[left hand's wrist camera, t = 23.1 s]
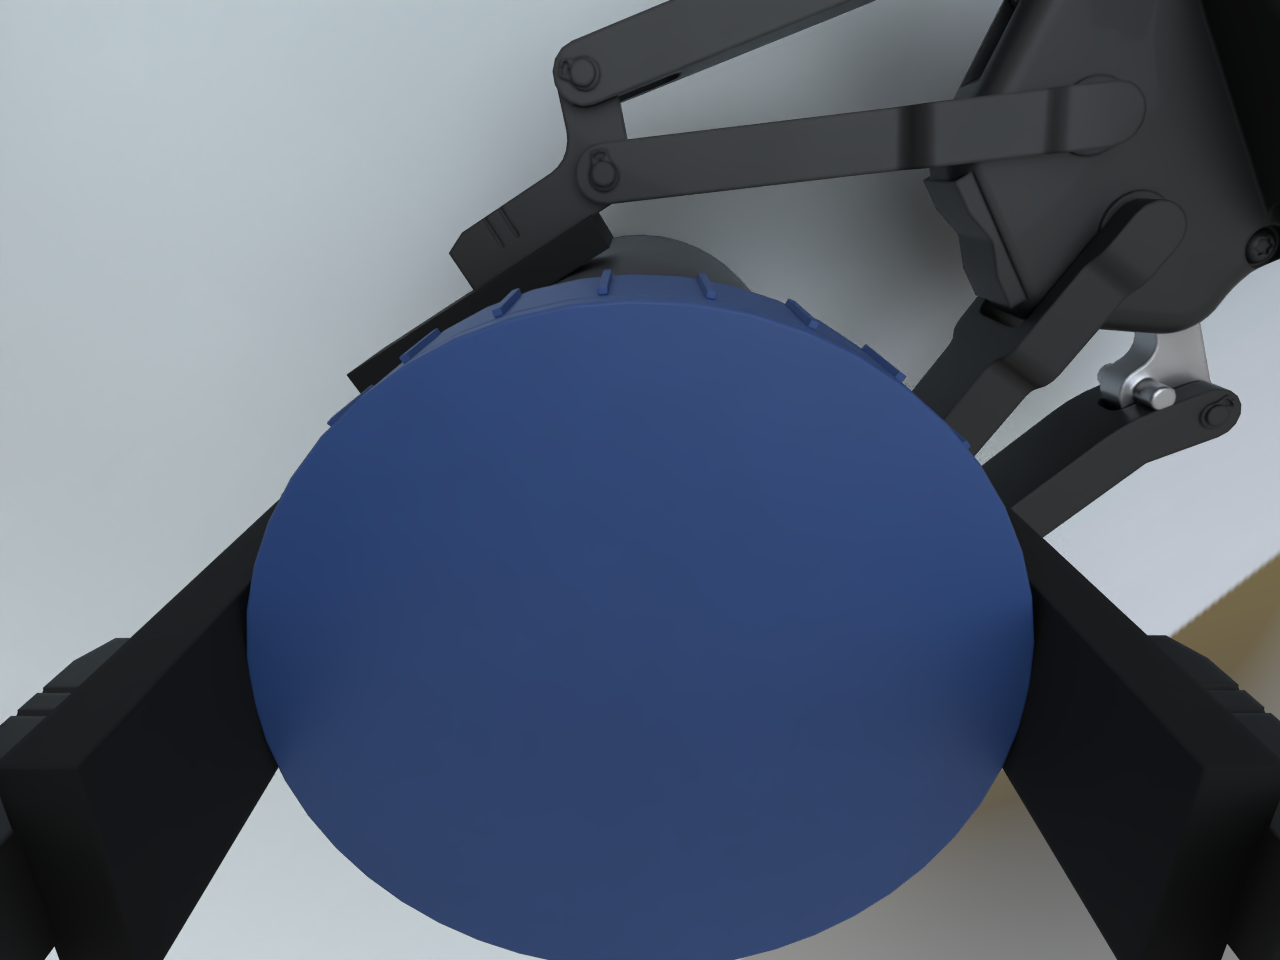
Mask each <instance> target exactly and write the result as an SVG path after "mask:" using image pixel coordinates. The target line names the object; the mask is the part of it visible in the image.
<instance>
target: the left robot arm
mask: <svg viewBox="0 0 1280 960" xmlns="http://www.w3.org/2000/svg"><path fill="white" fill-rule="evenodd" d="M279 500H280V499H279ZM279 500H278V501H277V502H276V503H275V504H274V505H273V506H272V507H271V508H270V509H268V510H267V511H266V512H265V513H264V514H263V515H262V516H261V517H260V518H259V519H258V520H257V521H256V522H254V523H253V524H252V525H251V526H250V527H249V528H248V529H247V530H246V531H245V532H244V533H243V534H242V535H241V536H239V537H238V538H237V539H236V540H235V541H234V542H233V543H232V544H231V545H230V546H229V547H228V548H227V549H225V550H224V551H223V552H222V553H221V554H220V555H219V556H218V557H217V558H216V559H215V560H214V561H213V562H212V563H210V564H209V565H208V566H207V567H206V568H205V569H204V570H203V571H202V572H201V573H200V574H199V575H198V576H196V577H195V578H194V579H193V580H192V581H191V582H190V583H189V584H188V585H187V586H186V587H185V588H184V589H183V590H181V591H180V592H179V593H178V594H177V595H176V596H175V597H174V598H173V599H172V600H171V601H170V602H169V603H167V604H166V605H165V606H164V607H163V608H162V609H161V610H160V611H159V612H158V613H157V614H156V615H155V616H154V617H152V618H151V619H150V620H149V621H148V622H147V623H146V624H145V625H144V626H143V627H142V628H141V629H140V630H138V631H137V632H136V633H135V634H134V635H133V636H132V637H131V638H115V639H113V640H111V641H109V642H108V643H106V644H104V645H102V646H100V647H98V648H96V649H95V650H93V651H91V652H89V653H87V654H85V655H84V656H82V657H80V658H78V659H76V660H74V661H73V662H72V663H71V664H70V665H68V666H67V667H66V668H65V669H64V670H63V671H62V672H60V673H59V674H58V675H57V676H56V677H55V678H54V679H53V680H51V681H50V682H49V683H48V684H47V685H46V686H45V687H43V692H42V693H37V694H35V695H34V696H33V697H32V698H31V699H30V700H29V701H27V702H26V703H25V704H24V705H23V706H22V707H21V708H20V709H18V713H17V716H10V717H9V718H8V719H7V720H6V721H5V722H4V723H2V724H1V725H0V960H45V958H46V957H47V956H48V954H49V953H50V952H51V950H52V949H53V948H54V946H55V949H56V952H57V954H58V957H59V960H163V959H164V958H165V956H166V954H167V953H168V951H169V949H170V948H171V946H172V944H173V943H174V941H175V939H176V938H177V936H178V934H179V933H180V931H181V929H182V928H183V926H184V924H185V923H186V921H187V919H188V918H189V916H190V914H191V913H192V911H193V909H194V908H195V906H196V904H197V903H198V901H199V899H200V898H201V896H202V894H203V893H204V891H205V889H206V888H207V886H208V884H209V883H210V881H211V879H212V878H213V876H214V874H215V873H216V871H217V869H218V867H219V866H220V864H221V862H222V861H223V859H224V857H225V856H226V854H227V852H228V851H229V849H230V847H231V846H232V844H233V842H234V841H235V839H236V837H237V836H238V834H239V832H240V831H241V829H242V827H243V826H244V824H245V822H246V821H247V819H248V817H249V816H250V814H251V812H252V811H253V809H254V807H255V806H256V804H257V802H258V801H259V799H260V797H261V796H262V794H263V792H264V791H265V789H266V787H267V786H268V784H269V782H270V781H271V779H272V777H273V776H274V774H275V772H276V771H277V769H278V765H277V763H276V761H275V759H274V756H273V754H272V752H271V750H270V748H269V746H268V744H267V742H266V739H265V736H264V733H263V729H262V726H261V723H260V720H259V717H258V713H257V709H256V704H255V700H254V695H253V690H252V685H251V680H250V674H249V669H248V663H247V606H248V600H249V593H250V587H251V581H252V574H253V568H254V564H255V561H256V558H257V555H258V552H259V549H260V546H261V543H262V540H263V537H264V534H265V531H266V527H267V524H268V521H269V519H270V518H271V516H272V514H273V512H274V510H275V508H276V506H277V504H278V502H279ZM1001 501H1002V500H1001ZM1002 502H1003V504H1004V506H1005V508H1006V511H1007V513H1008V516H1009V518H1010V521H1011V523H1012V526H1013V529H1014V531H1015V534H1016V536H1017V539H1018V541H1019V544H1020V547H1021V549H1022V552H1023V557H1024V562H1025V566H1026V571H1027V576H1028V580H1029V585H1030V590H1031V594H1032V607H1033V626H1034V651H1033V661H1032V670H1031V678H1030V684H1029V689H1028V693H1027V698H1026V702H1025V707H1024V711H1023V714H1022V718H1021V722H1020V726H1019V729H1018V731H1017V734H1016V736H1015V739H1014V741H1013V743H1012V746H1011V748H1010V750H1009V753H1008V755H1007V757H1006V760H1005V762H1004V765H1003V767H1002V768H1003V770H1004V771H1005V773H1006V775H1007V776H1008V778H1009V780H1010V781H1011V783H1012V785H1013V786H1014V788H1015V790H1016V791H1017V793H1018V795H1019V796H1020V798H1021V800H1022V801H1023V803H1024V805H1025V806H1026V808H1027V810H1028V811H1029V813H1030V815H1031V817H1032V818H1033V820H1034V821H1035V823H1036V825H1037V827H1038V828H1039V830H1040V832H1041V833H1042V835H1043V837H1044V838H1045V840H1046V842H1047V843H1048V845H1049V847H1050V848H1051V850H1052V852H1053V853H1054V855H1055V857H1056V858H1057V860H1058V862H1059V863H1060V865H1061V867H1062V868H1063V870H1064V872H1065V873H1066V875H1067V877H1068V878H1069V880H1070V882H1071V883H1072V885H1073V887H1074V888H1075V890H1076V892H1077V893H1078V895H1079V897H1080V898H1081V900H1082V902H1083V903H1084V905H1085V907H1086V908H1087V910H1088V912H1089V913H1090V915H1091V917H1092V918H1093V920H1094V922H1095V923H1096V925H1097V927H1098V928H1099V930H1100V932H1101V933H1102V935H1103V937H1104V938H1105V940H1106V942H1107V943H1108V945H1109V947H1110V948H1111V950H1112V952H1113V953H1114V955H1115V957H1116V958H1117V960H1221V959H1222V956H1223V953H1224V951H1225V948H1226V945H1227V944H1228V945H1229V946H1230V948H1231V949H1232V950H1233V952H1234V953H1235V954H1236V956H1237V957H1238V958H1239V960H1280V721H1279V720H1278V719H1277V718H1276V717H1275V716H1274V715H1272V714H1271V713H1265V711H1264V707H1263V706H1262V705H1261V704H1260V703H1259V702H1258V701H1256V700H1255V699H1254V698H1253V697H1252V696H1251V695H1249V694H1248V693H1247V692H1246V691H1245V690H1239V688H1238V684H1237V683H1236V682H1235V681H1233V680H1232V679H1231V678H1230V677H1229V676H1228V675H1227V674H1225V673H1224V672H1223V671H1222V670H1221V669H1220V668H1219V667H1217V666H1216V665H1215V664H1214V663H1213V662H1212V661H1210V660H1209V659H1208V658H1207V657H1205V656H1203V655H1201V654H1199V653H1197V652H1196V651H1194V650H1192V649H1190V648H1188V647H1186V646H1184V645H1183V644H1181V643H1179V642H1177V641H1175V640H1173V639H1171V638H1170V637H1168V636H1166V635H1146V634H1145V633H1144V632H1143V631H1142V630H1141V629H1140V628H1139V627H1138V626H1137V625H1136V624H1135V623H1134V622H1132V621H1131V620H1130V619H1129V618H1128V617H1127V616H1126V615H1125V614H1124V613H1123V612H1122V611H1121V610H1120V609H1118V608H1117V607H1116V606H1115V605H1114V604H1113V603H1112V602H1111V601H1110V600H1109V599H1108V598H1107V597H1106V596H1105V595H1103V594H1102V593H1101V592H1100V591H1099V590H1098V589H1097V588H1096V587H1095V586H1094V585H1093V584H1092V583H1091V582H1089V581H1088V580H1087V579H1086V578H1085V577H1084V576H1083V575H1082V574H1081V573H1080V572H1079V571H1078V570H1077V569H1076V568H1074V567H1073V566H1072V565H1071V564H1070V563H1069V562H1068V561H1067V560H1066V559H1065V558H1064V557H1063V556H1062V555H1060V554H1059V553H1058V552H1057V551H1056V550H1055V549H1054V548H1053V547H1052V546H1051V545H1050V544H1049V543H1048V542H1047V541H1045V540H1044V539H1043V538H1042V537H1041V536H1040V535H1039V534H1038V533H1037V532H1036V531H1035V530H1034V529H1033V528H1031V527H1030V526H1029V525H1028V524H1027V523H1026V522H1025V521H1024V520H1023V519H1022V518H1021V517H1020V516H1019V515H1017V514H1016V513H1015V512H1014V511H1013V510H1012V509H1011V508H1010V507H1009V506H1008V505H1007V504H1006V503H1005V502H1004V501H1002Z"/></svg>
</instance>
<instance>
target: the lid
mask: <svg viewBox="0 0 1280 960" xmlns="http://www.w3.org/2000/svg"><path fill="white" fill-rule="evenodd" d="M399 358H400V360H401V361H402V363H401V364H400V365H399V366H397V367H396V368H395V369H394V370H393V371H391V372H390V373H389V374H388V375H387V376H385V377H384V378H383V379H382V380H381V381H379V382H378V383H377V384H376V385H375V386H373V385H371V386H369V387H368V388H367V389H366V390H365V391H363V392H362V393H361V394H360V395H358V396H357V397H356V398H355V399H354V400H352V401H351V402H350V403H349V404H347V405H346V406H345V407H344V408H343V409H341V410H340V411H339V412H338V413H337V414H335V415H334V416H333V417H332V418H331V419H330V420H329V421H328V422H327V424H328V425H330V426H331V427H330V428H329V429H328V430H327V431H326V432H325V433H324V434H323V435H322V436H321V437H320V439H319V440H318V441H317V443H316V444H315V446H314V447H313V448H312V450H311V451H310V452H309V454H308V455H307V457H306V458H305V459H304V461H303V462H302V463H301V465H300V466H299V467H298V469H297V470H296V472H295V473H294V474H293V476H292V477H291V479H290V481H289V483H288V484H287V486H286V488H285V490H284V492H283V493H282V495H281V498H280V500H279V502H278V504H277V506H276V508H275V510H274V512H273V514H272V516H271V518H270V519H269V521H268V524H267V527H266V531H265V534H264V537H263V540H262V543H261V546H260V549H259V552H258V555H257V558H256V561H255V564H254V568H253V574H252V581H251V587H250V593H249V600H248V606H247V663H248V669H249V674H250V680H251V685H252V690H253V695H254V700H255V704H256V709H257V713H258V717H259V720H260V723H261V726H262V729H263V733H264V736H265V739H266V742H267V744H268V746H269V748H270V750H271V752H272V754H273V756H274V759H275V761H276V763H277V765H278V767H279V769H280V771H281V773H282V775H283V777H284V779H285V781H286V783H287V784H288V786H289V787H290V789H291V790H292V792H293V793H294V795H295V796H296V798H297V799H298V801H299V802H300V804H301V805H302V807H303V808H304V810H305V811H306V813H307V815H308V816H309V817H310V818H311V819H312V821H313V822H314V823H315V824H316V825H317V826H318V828H319V829H320V830H321V831H322V832H323V833H324V835H325V836H326V837H327V838H328V839H329V840H330V842H331V843H332V844H333V845H334V846H335V847H336V848H337V849H338V850H339V851H340V852H341V853H342V854H343V855H344V856H345V857H347V858H348V859H349V860H350V861H351V862H352V863H353V864H354V865H355V866H356V867H357V868H359V869H360V870H361V871H362V872H363V873H364V874H365V875H366V876H367V877H369V878H370V879H371V880H373V881H374V882H376V883H377V884H378V885H380V886H381V887H383V888H384V889H385V890H387V891H388V892H389V893H391V894H392V895H394V896H395V897H396V898H398V899H399V900H400V901H402V902H404V903H405V904H407V905H409V906H411V907H412V908H414V909H416V910H418V911H419V912H421V913H423V914H425V915H426V916H428V917H430V918H432V919H433V920H435V921H437V922H439V923H441V924H443V925H445V926H448V927H450V928H452V929H454V930H457V931H459V932H461V933H463V934H466V935H468V936H470V937H473V938H475V939H477V940H480V941H483V942H486V943H489V944H492V945H495V946H498V947H501V948H504V949H507V950H510V951H513V952H516V953H520V954H524V955H529V956H533V957H538V958H542V959H547V960H736V959H739V958H743V957H747V956H751V955H755V954H759V953H763V952H767V951H771V950H775V949H777V948H780V947H783V946H786V945H788V944H791V943H794V942H797V941H799V940H802V939H805V938H808V937H810V936H813V935H816V934H818V933H820V932H822V931H824V930H826V929H828V928H830V927H832V926H835V925H837V924H839V923H841V922H843V921H845V920H847V919H849V918H851V917H853V916H855V915H857V914H858V913H860V912H861V911H863V910H865V909H866V908H868V907H870V906H871V905H873V904H874V903H876V902H878V901H879V900H881V899H882V898H884V897H886V896H887V895H889V894H890V893H892V892H893V891H894V890H896V889H897V888H898V887H899V886H901V885H902V884H903V883H905V882H906V881H907V880H908V879H910V878H911V877H912V876H913V875H915V874H916V873H917V872H919V871H920V870H921V869H922V868H924V867H925V866H926V865H927V864H928V863H929V862H930V861H931V860H932V859H933V858H934V857H935V856H936V855H937V854H938V853H939V852H940V851H941V850H942V849H943V848H944V847H945V846H946V845H947V844H948V843H949V842H950V841H951V840H952V839H953V838H954V837H955V836H956V834H957V833H958V832H959V831H960V829H961V828H962V827H963V826H964V824H965V823H966V822H967V820H968V819H969V818H970V817H971V815H972V814H973V813H974V811H975V810H976V809H977V808H978V807H979V805H980V804H981V802H982V801H983V799H984V797H985V796H986V794H987V792H988V790H989V789H990V787H991V786H992V784H993V782H994V780H995V779H996V777H997V775H998V774H999V772H1000V770H1001V769H1002V767H1003V765H1004V762H1005V760H1006V757H1007V755H1008V753H1009V750H1010V748H1011V746H1012V743H1013V741H1014V739H1015V736H1016V734H1017V731H1018V729H1019V726H1020V722H1021V718H1022V714H1023V711H1024V707H1025V702H1026V698H1027V693H1028V689H1029V684H1030V678H1031V670H1032V661H1033V651H1034V626H1033V607H1032V594H1031V590H1030V585H1029V580H1028V576H1027V571H1026V566H1025V562H1024V557H1023V552H1022V549H1021V547H1020V544H1019V541H1018V539H1017V536H1016V534H1015V531H1014V529H1013V526H1012V523H1011V521H1010V518H1009V516H1008V513H1007V511H1006V508H1005V506H1004V504H1003V502H1002V501H1001V499H1000V497H999V496H998V494H997V492H996V490H995V489H994V487H993V485H992V484H991V482H990V480H989V478H988V477H987V475H986V473H985V472H984V470H983V468H982V466H981V465H980V463H979V462H978V461H977V460H976V458H975V457H974V456H973V455H972V453H971V452H970V451H969V450H968V449H969V448H970V447H971V446H970V444H969V443H968V442H967V440H965V439H964V438H963V437H962V436H961V435H960V434H958V433H957V432H956V431H955V430H954V429H952V428H951V427H950V426H949V425H948V424H947V423H946V422H945V421H944V420H943V419H942V418H941V417H939V416H938V415H937V414H936V413H935V412H934V411H933V410H932V409H931V408H930V407H928V406H927V405H926V404H925V403H924V402H923V401H922V400H921V399H920V398H919V397H917V396H916V395H915V394H914V393H913V392H912V391H911V390H910V389H909V388H907V387H906V386H905V385H904V384H903V383H902V381H903V380H904V379H905V378H906V376H905V375H904V374H902V373H901V372H900V371H899V370H897V369H896V368H895V367H894V366H892V365H891V364H890V363H889V362H887V361H886V360H885V359H884V358H882V357H881V356H880V355H879V354H877V353H876V352H875V351H874V350H872V349H871V348H870V347H869V346H867V345H866V344H865V345H864V347H863V348H862V349H861V348H860V347H858V346H857V345H855V344H854V343H852V342H851V341H849V340H848V339H846V338H845V337H843V336H842V335H840V334H839V333H837V332H836V331H834V330H833V329H831V328H830V327H828V326H827V325H825V324H824V323H823V322H821V321H819V320H817V319H815V318H813V317H812V316H811V315H810V314H809V313H808V312H806V311H805V310H804V309H803V308H802V307H801V306H800V305H799V304H797V303H796V302H795V301H793V300H791V299H788V300H787V302H786V304H784V303H782V302H780V301H778V300H775V299H771V298H768V297H765V296H762V295H759V294H756V293H753V292H750V291H747V290H744V289H741V288H738V287H735V286H731V285H726V284H721V283H715V282H711V281H710V280H709V278H708V276H707V275H706V274H702V273H698V277H697V279H693V278H688V277H682V276H660V275H638V274H628V275H617V276H612V270H611V269H610V270H603V273H602V276H601V277H595V278H584V279H578V280H574V281H569V282H565V283H561V284H556V285H552V286H547V287H543V288H539V289H534V290H531V291H528V292H526V293H523V294H521V291H520V289H519V288H518V289H515V290H512V291H511V292H510V293H509V294H508V295H507V296H506V297H505V298H504V299H503V300H502V301H501V302H499V303H497V304H494V305H491V306H489V307H486V308H485V309H483V310H481V311H479V312H477V313H475V314H474V315H472V316H470V317H468V318H466V319H464V320H463V321H461V322H459V323H457V324H455V325H453V326H452V327H450V328H448V329H446V330H444V331H443V332H442V333H441V332H440V331H439V329H438V328H436V329H435V330H433V331H432V332H430V333H429V334H428V335H427V336H425V337H424V338H423V339H422V340H420V341H419V342H418V343H417V344H415V345H414V346H413V347H412V348H410V349H409V350H408V351H407V352H405V353H404V354H403V355H402V356H400V357H399Z"/></svg>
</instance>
